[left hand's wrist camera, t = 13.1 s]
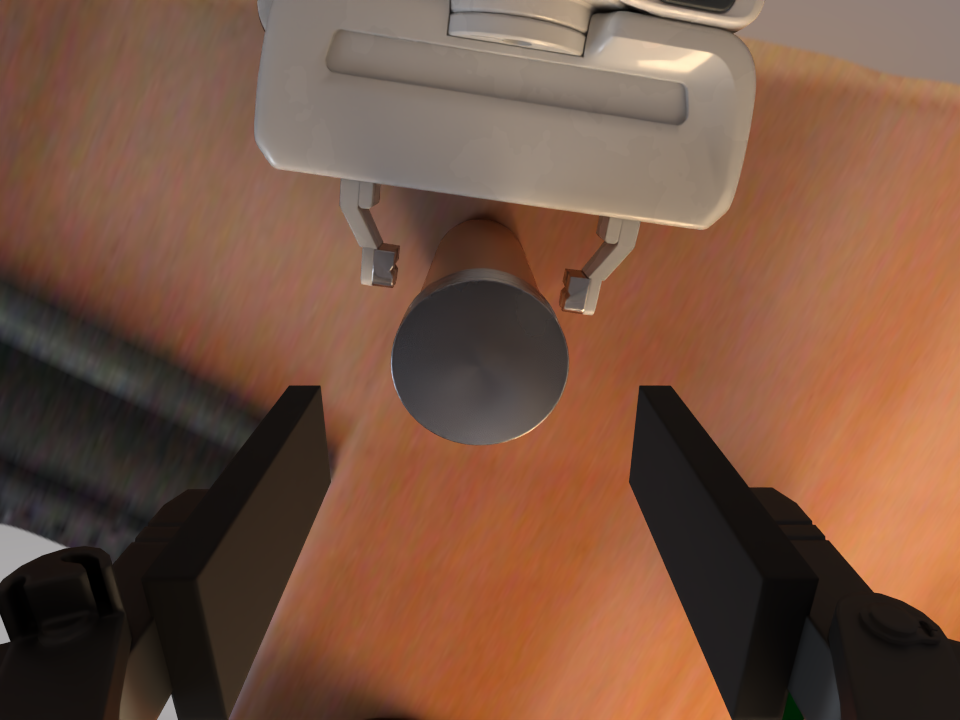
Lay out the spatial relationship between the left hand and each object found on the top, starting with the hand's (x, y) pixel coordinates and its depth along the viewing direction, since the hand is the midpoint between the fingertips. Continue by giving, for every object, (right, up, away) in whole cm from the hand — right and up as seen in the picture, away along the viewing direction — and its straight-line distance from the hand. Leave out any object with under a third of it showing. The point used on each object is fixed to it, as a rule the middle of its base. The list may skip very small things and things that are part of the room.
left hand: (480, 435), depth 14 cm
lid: (0, +2, +5) cm, 5 cm away
